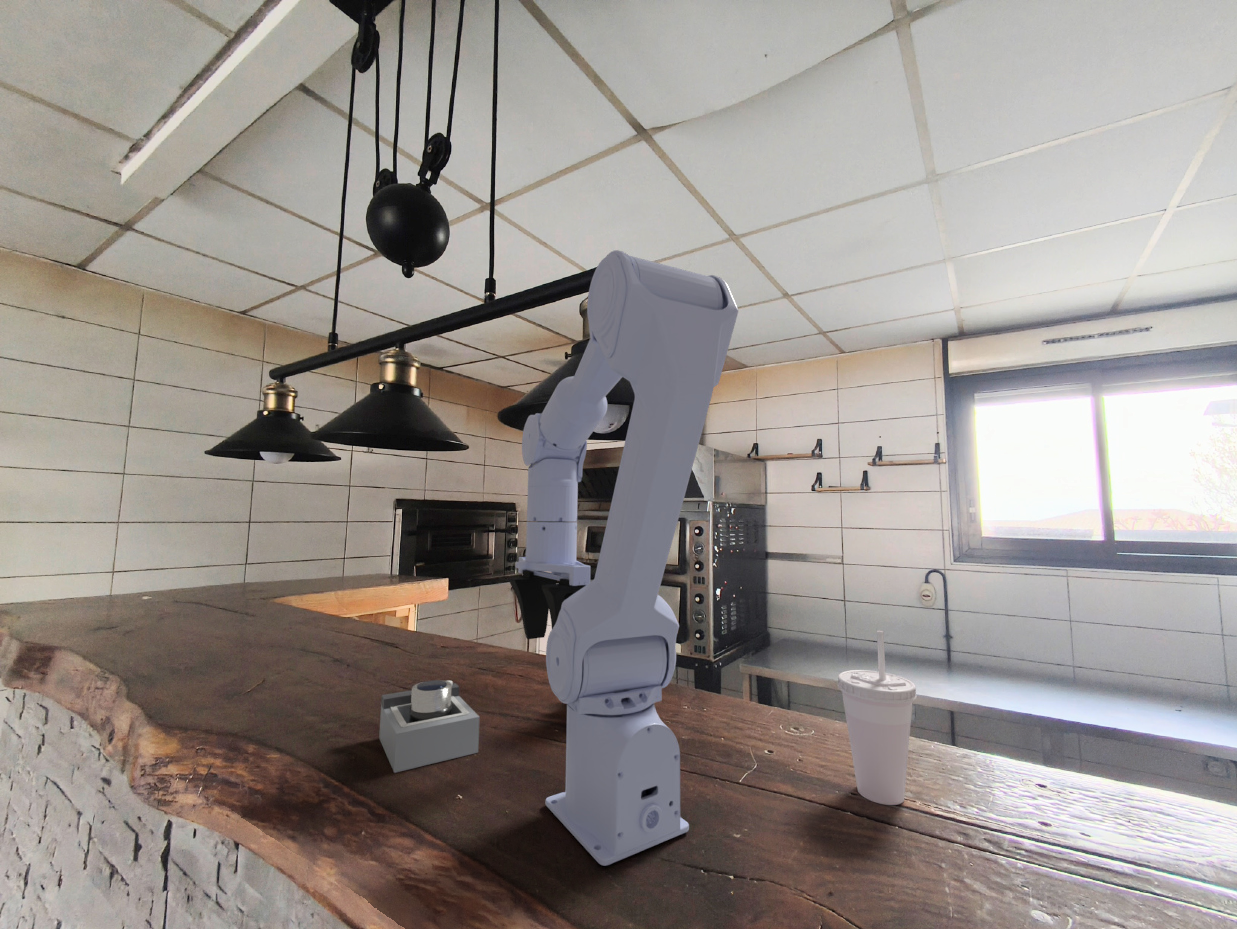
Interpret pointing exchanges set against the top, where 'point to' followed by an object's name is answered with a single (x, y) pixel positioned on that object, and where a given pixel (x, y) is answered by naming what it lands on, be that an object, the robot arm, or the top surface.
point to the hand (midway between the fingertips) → (549, 644)
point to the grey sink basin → (426, 732)
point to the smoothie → (878, 728)
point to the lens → (430, 700)
